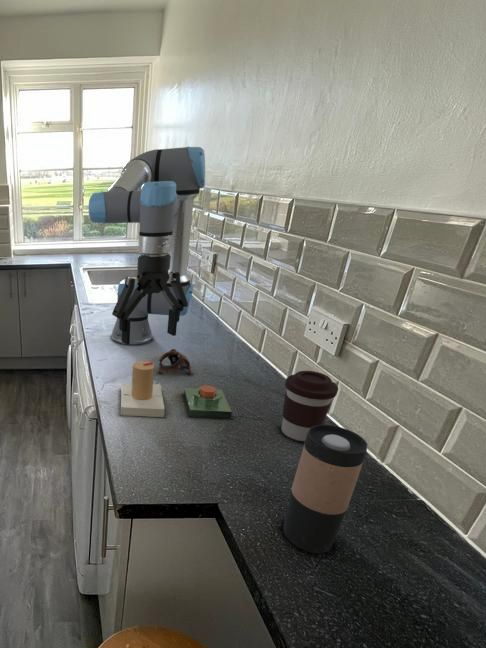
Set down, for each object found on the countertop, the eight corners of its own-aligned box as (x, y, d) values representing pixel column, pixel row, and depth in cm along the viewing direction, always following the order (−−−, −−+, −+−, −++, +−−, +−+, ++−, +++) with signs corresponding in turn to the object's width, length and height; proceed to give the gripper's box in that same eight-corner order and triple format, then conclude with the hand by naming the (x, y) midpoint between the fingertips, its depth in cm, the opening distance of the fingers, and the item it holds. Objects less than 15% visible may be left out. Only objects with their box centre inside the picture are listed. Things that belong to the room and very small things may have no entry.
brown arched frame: (196, 380, 123) (187, 361, 118) (166, 390, 126) (157, 373, 122) (188, 356, 132) (179, 338, 127) (160, 366, 135) (151, 349, 131)
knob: (138, 401, 106) (140, 370, 103) (127, 392, 111) (128, 362, 107) (156, 397, 108) (158, 366, 104) (144, 388, 113) (146, 358, 109)
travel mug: (271, 521, 71) (296, 426, 63) (312, 517, 72) (342, 422, 63) (299, 557, 64) (331, 456, 56) (345, 552, 65) (383, 451, 56)
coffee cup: (317, 425, 97) (333, 369, 91) (328, 449, 89) (346, 389, 83) (271, 419, 100) (284, 365, 94) (278, 442, 92) (292, 384, 86)
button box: (183, 394, 114) (184, 382, 112) (220, 396, 112) (222, 383, 111) (189, 416, 103) (191, 403, 102) (230, 419, 102) (233, 405, 100)
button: (198, 390, 108) (199, 384, 108) (213, 391, 108) (214, 385, 107) (200, 397, 105) (201, 391, 104) (216, 398, 104) (217, 392, 103)
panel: (121, 390, 118) (121, 382, 117) (159, 392, 116) (160, 383, 115) (120, 415, 106) (121, 406, 104) (163, 417, 104) (164, 408, 102)
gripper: (114, 262, 87) (112, 351, 96) (209, 250, 94) (198, 335, 103) (99, 256, 93) (98, 341, 102) (188, 246, 100) (180, 326, 110)
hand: (148, 338), depth 103 cm, fingers open, 13 cm apart
